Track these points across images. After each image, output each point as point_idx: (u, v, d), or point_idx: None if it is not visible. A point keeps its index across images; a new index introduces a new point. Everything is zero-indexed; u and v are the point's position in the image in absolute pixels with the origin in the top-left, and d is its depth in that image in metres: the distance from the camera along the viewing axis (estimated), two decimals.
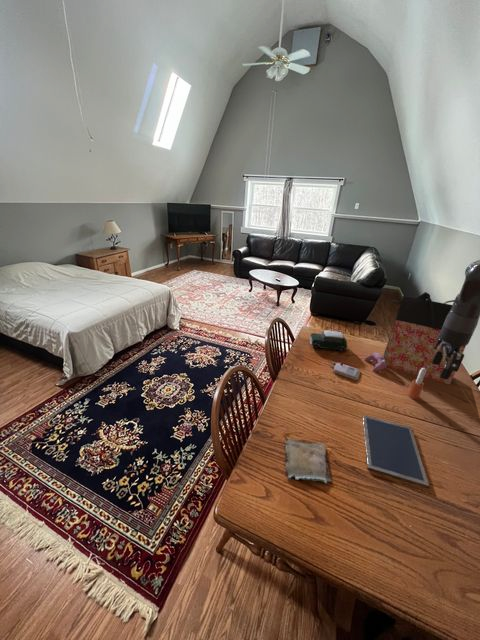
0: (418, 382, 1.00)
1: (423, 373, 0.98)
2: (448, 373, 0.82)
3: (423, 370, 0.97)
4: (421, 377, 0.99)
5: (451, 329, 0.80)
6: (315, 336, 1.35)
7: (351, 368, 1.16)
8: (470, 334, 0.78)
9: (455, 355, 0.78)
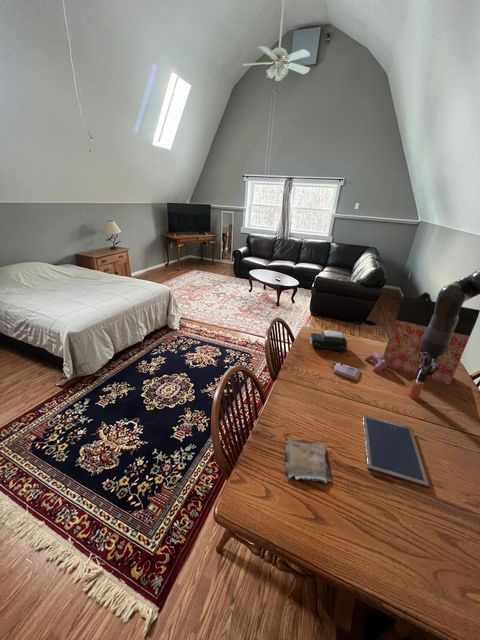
0: (418, 382, 1.00)
1: None
2: (424, 377, 0.97)
3: None
4: None
5: (429, 341, 0.91)
6: (315, 336, 1.35)
7: (351, 368, 1.16)
8: (445, 345, 0.90)
9: (430, 368, 0.91)
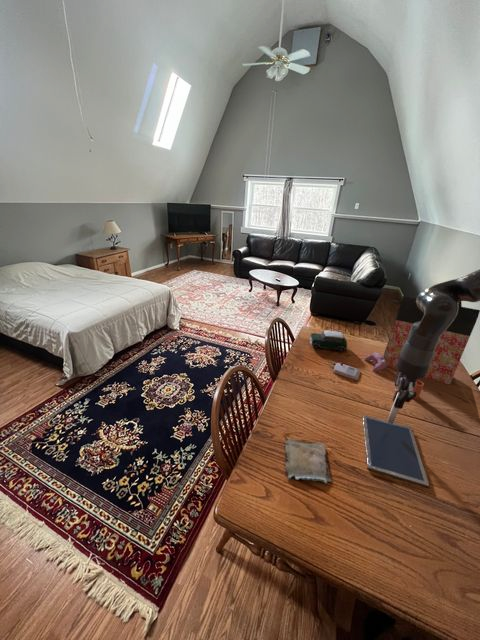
0: (395, 408, 0.83)
1: None
2: (401, 403, 0.80)
3: None
4: None
5: (406, 361, 0.74)
6: (315, 336, 1.35)
7: (351, 368, 1.16)
8: (426, 367, 0.73)
9: (407, 394, 0.74)
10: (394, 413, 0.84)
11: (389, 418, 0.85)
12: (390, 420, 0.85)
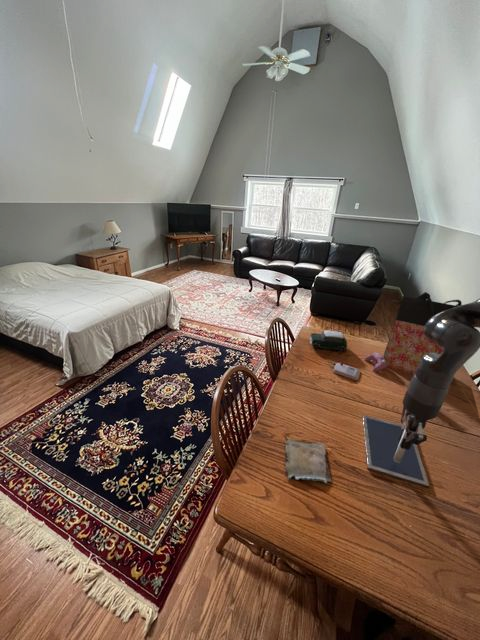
0: None
1: None
2: (408, 444, 0.69)
3: None
4: None
5: (414, 399, 0.64)
6: (315, 336, 1.35)
7: (351, 368, 1.16)
8: (438, 406, 0.62)
9: (415, 438, 0.64)
10: (402, 451, 0.72)
11: (396, 456, 0.74)
12: (397, 458, 0.74)
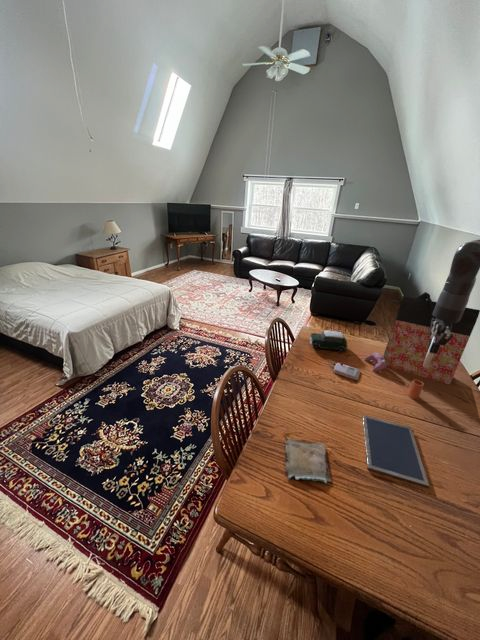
0: None
1: None
2: (437, 347, 0.90)
3: None
4: None
5: (443, 307, 0.84)
6: (315, 336, 1.35)
7: (351, 368, 1.16)
8: (461, 311, 0.83)
9: (444, 336, 0.84)
10: (430, 356, 0.93)
11: (425, 361, 0.95)
12: (426, 363, 0.95)
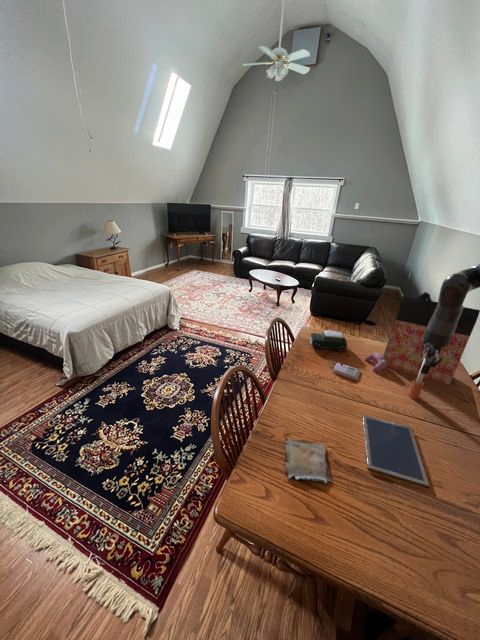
0: None
1: None
2: (427, 369, 0.95)
3: None
4: None
5: (433, 332, 0.90)
6: (315, 336, 1.35)
7: (351, 368, 1.16)
8: (450, 336, 0.88)
9: (433, 359, 0.89)
10: (421, 376, 0.98)
11: (417, 381, 1.00)
12: (418, 383, 1.00)
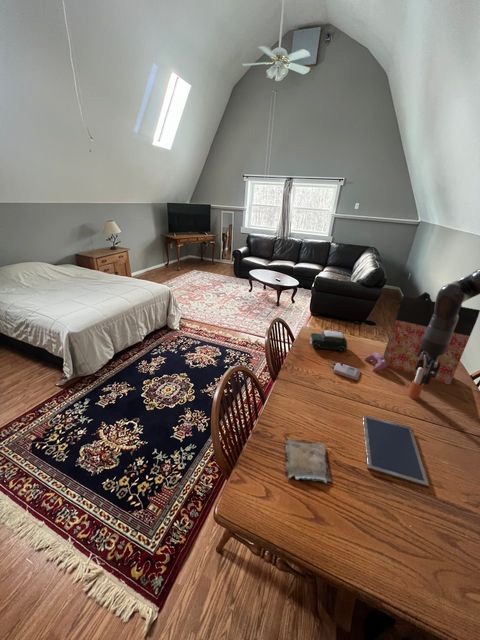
0: (416, 382, 1.00)
1: (420, 373, 0.98)
2: (428, 379, 0.94)
3: (420, 370, 0.98)
4: (419, 377, 0.99)
5: (429, 341, 0.91)
6: (315, 336, 1.35)
7: (351, 368, 1.16)
8: (446, 345, 0.90)
9: (433, 363, 0.90)
10: None
11: None
12: None
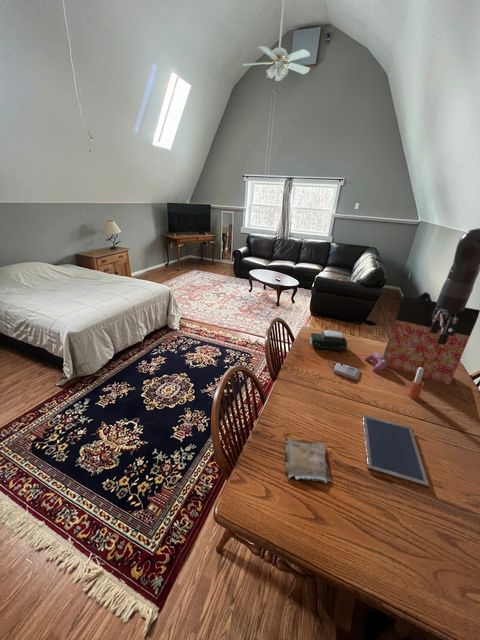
0: (416, 382, 1.00)
1: (420, 373, 0.98)
2: (445, 338, 0.87)
3: (420, 370, 0.98)
4: (419, 377, 0.99)
5: (447, 296, 0.84)
6: (315, 336, 1.35)
7: (351, 368, 1.16)
8: (465, 299, 0.83)
9: (451, 319, 0.83)
10: None
11: None
12: None
